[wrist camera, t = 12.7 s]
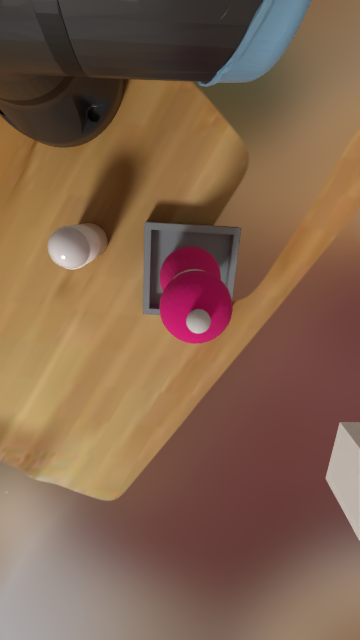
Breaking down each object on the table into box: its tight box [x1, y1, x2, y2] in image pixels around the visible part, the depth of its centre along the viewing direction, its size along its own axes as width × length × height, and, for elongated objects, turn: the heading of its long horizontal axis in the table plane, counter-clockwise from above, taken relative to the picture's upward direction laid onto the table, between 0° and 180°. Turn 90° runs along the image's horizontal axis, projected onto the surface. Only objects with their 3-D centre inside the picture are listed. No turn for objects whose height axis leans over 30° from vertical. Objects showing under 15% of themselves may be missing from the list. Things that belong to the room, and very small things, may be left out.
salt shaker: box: [48, 223, 108, 269], centre depth 34 cm, size 4×4×10 cm
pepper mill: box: [159, 246, 233, 344], centre depth 30 cm, size 7×7×20 cm
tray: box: [143, 222, 241, 315], centre depth 39 cm, size 12×12×2 cm
